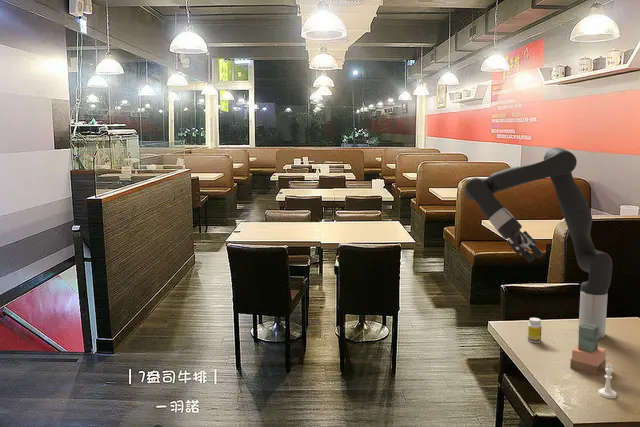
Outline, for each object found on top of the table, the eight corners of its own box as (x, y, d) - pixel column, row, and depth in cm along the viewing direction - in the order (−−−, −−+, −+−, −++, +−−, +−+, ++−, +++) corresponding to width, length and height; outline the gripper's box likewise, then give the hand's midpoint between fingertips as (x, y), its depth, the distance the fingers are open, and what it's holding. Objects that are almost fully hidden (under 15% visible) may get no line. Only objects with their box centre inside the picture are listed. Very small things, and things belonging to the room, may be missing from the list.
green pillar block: (583, 345, 184) (584, 322, 183) (597, 349, 181) (598, 326, 180) (578, 349, 181) (579, 326, 180) (592, 353, 178) (593, 329, 177)
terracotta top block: (580, 352, 187) (580, 342, 186) (605, 358, 181) (606, 348, 181) (571, 359, 181) (572, 350, 181) (597, 366, 176) (598, 356, 175)
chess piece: (616, 400, 161) (618, 368, 159) (597, 396, 164) (599, 364, 162) (617, 392, 165) (619, 361, 163) (599, 389, 168) (600, 358, 166)
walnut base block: (581, 361, 188) (581, 352, 187) (605, 369, 182) (605, 359, 181) (570, 368, 183) (570, 358, 182) (594, 376, 176) (595, 366, 176)
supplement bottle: (542, 343, 203) (542, 321, 202) (528, 342, 204) (529, 321, 203) (539, 338, 208) (540, 317, 207) (526, 337, 209) (527, 316, 208)
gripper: (504, 219, 188) (537, 256, 182) (519, 213, 199) (551, 248, 193) (489, 233, 192) (521, 269, 187) (505, 226, 203) (535, 260, 197)
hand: (536, 258), depth 190 cm, fingers open, 8 cm apart
